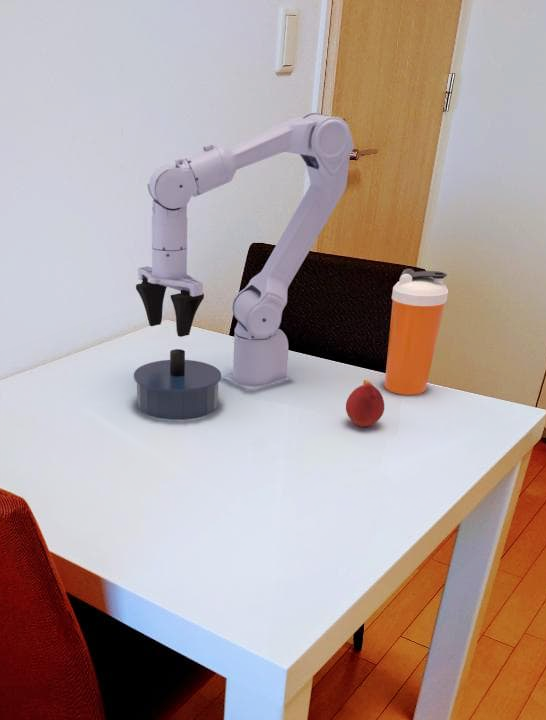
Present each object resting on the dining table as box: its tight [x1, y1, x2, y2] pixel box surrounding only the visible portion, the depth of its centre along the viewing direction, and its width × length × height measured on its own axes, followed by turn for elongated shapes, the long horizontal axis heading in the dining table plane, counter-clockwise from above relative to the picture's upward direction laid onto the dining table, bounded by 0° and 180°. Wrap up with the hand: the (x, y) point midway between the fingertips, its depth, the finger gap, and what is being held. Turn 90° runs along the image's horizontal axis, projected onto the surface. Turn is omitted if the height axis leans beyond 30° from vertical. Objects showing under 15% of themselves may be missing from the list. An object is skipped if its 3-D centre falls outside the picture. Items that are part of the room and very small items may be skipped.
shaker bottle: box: [384, 268, 449, 396], centre depth 138 cm, size 9×9×20 cm
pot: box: [136, 383, 219, 421], centre depth 134 cm, size 13×13×5 cm
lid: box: [133, 348, 222, 393], centre depth 132 cm, size 14×14×5 cm
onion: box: [345, 379, 385, 428], centre depth 126 cm, size 6×6×8 cm
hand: (169, 330), depth 138 cm, fingers open, 7 cm apart
